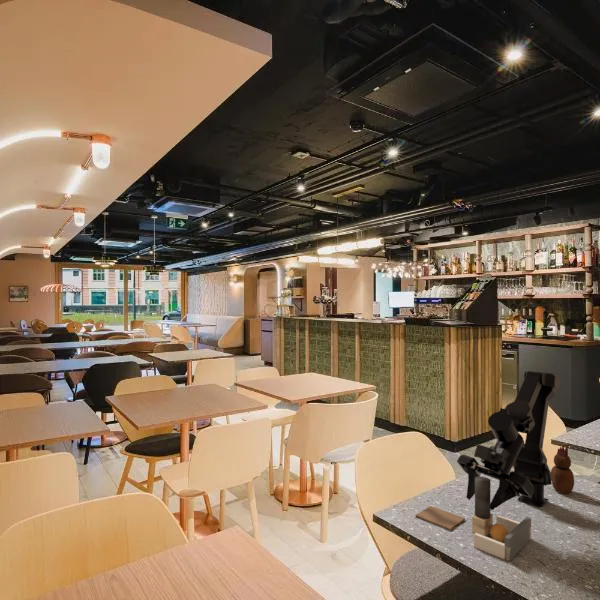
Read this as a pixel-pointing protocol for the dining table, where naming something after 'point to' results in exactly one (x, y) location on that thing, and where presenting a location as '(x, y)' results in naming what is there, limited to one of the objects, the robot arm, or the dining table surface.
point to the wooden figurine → (562, 472)
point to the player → (482, 507)
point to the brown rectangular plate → (440, 518)
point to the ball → (498, 532)
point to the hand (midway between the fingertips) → (479, 503)
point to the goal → (506, 538)
